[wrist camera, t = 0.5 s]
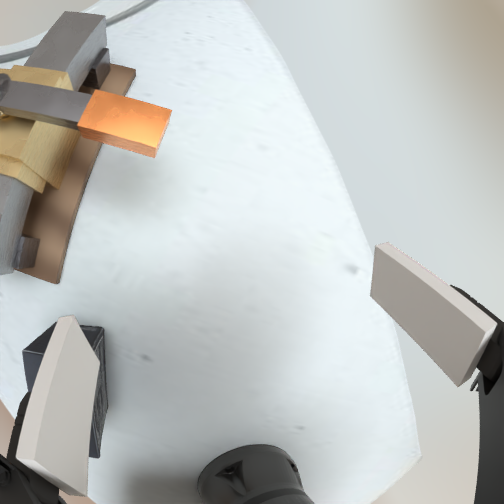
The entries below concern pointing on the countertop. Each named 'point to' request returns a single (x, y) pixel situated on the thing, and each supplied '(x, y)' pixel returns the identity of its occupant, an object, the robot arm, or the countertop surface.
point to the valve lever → (89, 114)
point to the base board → (67, 193)
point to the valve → (45, 127)
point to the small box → (96, 340)
